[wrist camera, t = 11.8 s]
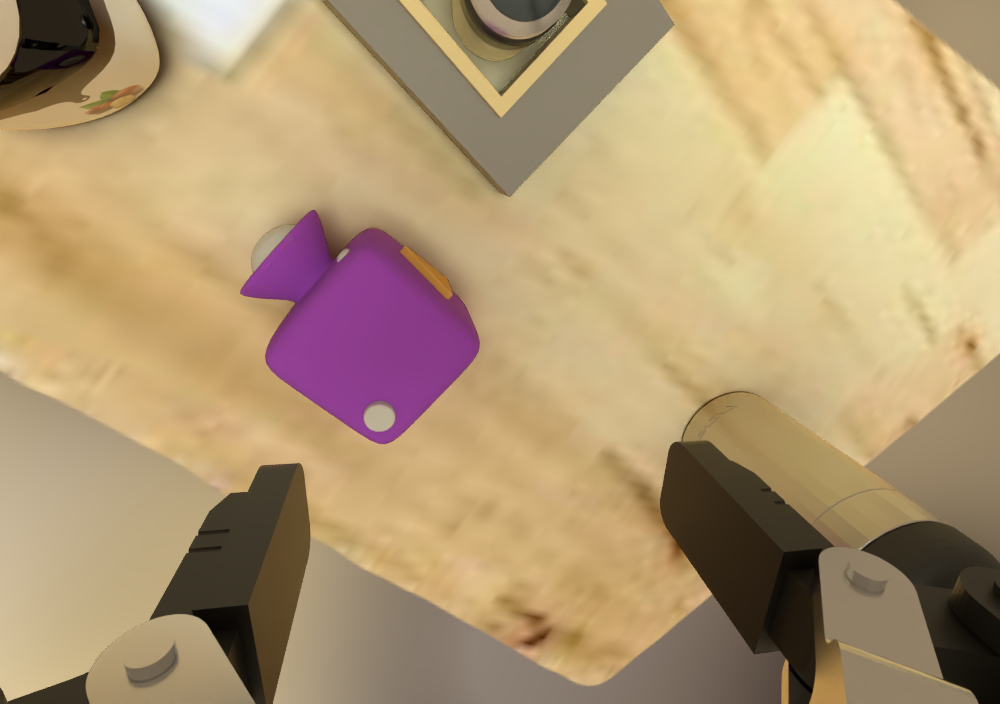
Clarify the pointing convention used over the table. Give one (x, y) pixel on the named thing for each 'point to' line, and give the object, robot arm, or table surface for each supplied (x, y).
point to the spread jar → (72, 60)
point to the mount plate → (531, 93)
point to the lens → (504, 24)
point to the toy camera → (361, 326)
